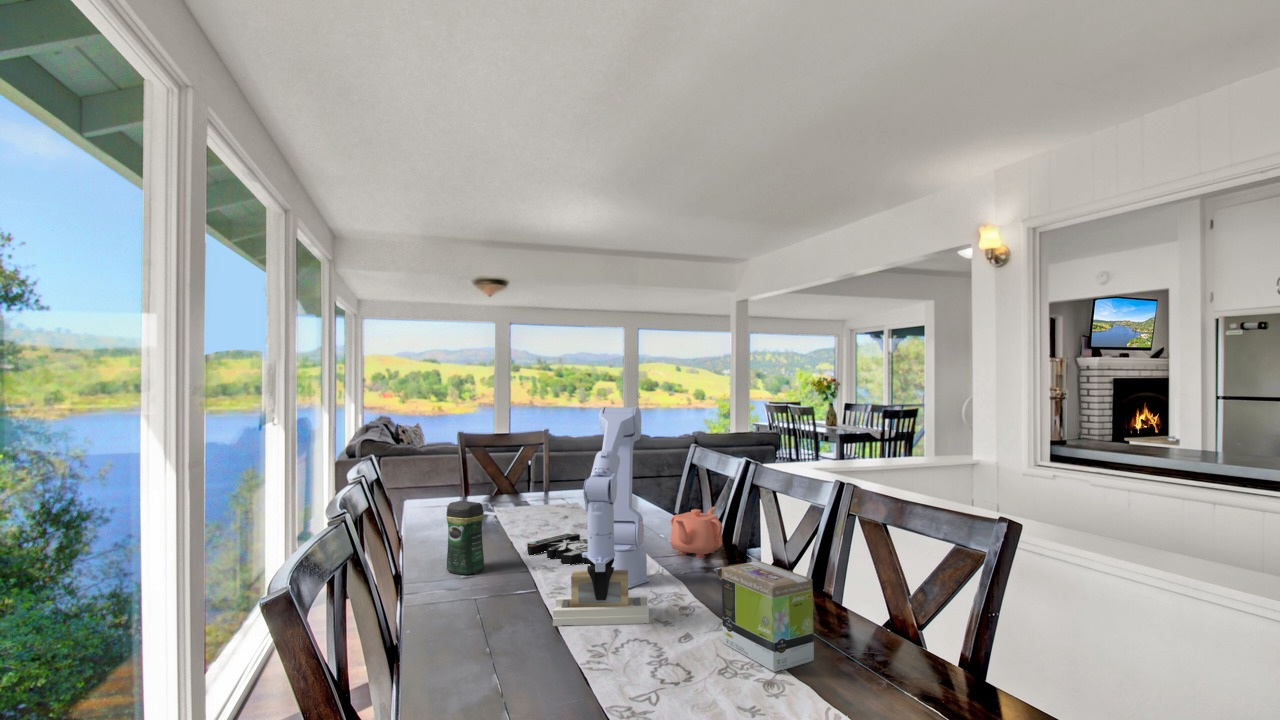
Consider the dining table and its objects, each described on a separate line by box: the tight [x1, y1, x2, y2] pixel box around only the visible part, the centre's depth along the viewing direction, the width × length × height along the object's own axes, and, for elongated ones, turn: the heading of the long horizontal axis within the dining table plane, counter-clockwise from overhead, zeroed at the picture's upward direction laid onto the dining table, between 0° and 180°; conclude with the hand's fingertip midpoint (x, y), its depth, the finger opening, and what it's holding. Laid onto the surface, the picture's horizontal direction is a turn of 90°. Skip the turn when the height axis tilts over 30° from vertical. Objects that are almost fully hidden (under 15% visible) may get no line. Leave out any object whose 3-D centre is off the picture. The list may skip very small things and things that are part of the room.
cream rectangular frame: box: [552, 594, 650, 627], centre depth 137 cm, size 20×9×3 cm, turn 92°
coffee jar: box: [446, 500, 485, 575], centre depth 172 cm, size 10×8×19 cm
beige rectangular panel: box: [570, 570, 629, 608], centre depth 137 cm, size 4×12×7 cm, turn 90°
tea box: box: [721, 560, 815, 673], centre depth 118 cm, size 15×10×15 cm
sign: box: [526, 533, 590, 566], centre depth 185 cm, size 19×3×30 cm
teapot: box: [670, 506, 724, 559], centre depth 186 cm, size 15×17×13 cm
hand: (601, 596), depth 137 cm, fingers closed on beige rectangular panel, 4 cm apart
